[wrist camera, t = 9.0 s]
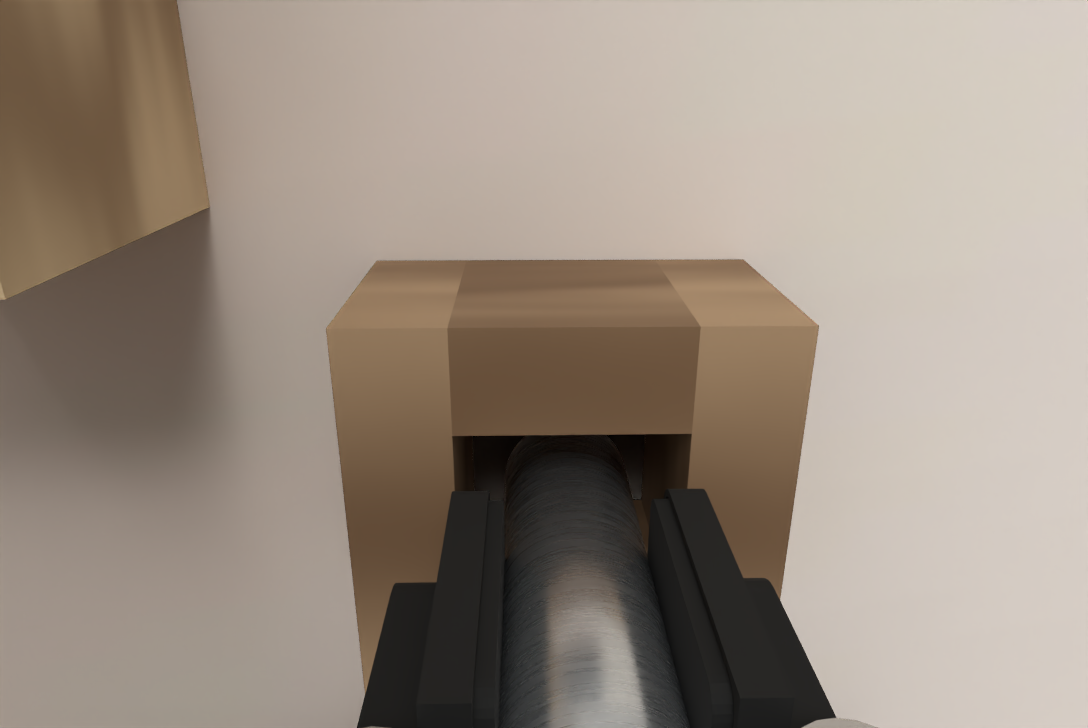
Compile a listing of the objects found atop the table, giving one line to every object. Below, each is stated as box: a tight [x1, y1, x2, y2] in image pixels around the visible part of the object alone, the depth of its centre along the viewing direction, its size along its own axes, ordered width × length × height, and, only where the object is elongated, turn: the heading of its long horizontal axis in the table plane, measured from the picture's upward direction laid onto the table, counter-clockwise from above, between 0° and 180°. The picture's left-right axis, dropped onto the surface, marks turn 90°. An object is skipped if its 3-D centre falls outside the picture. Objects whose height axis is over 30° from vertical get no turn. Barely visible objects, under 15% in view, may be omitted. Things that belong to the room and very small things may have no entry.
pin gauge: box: [499, 435, 690, 728], centre depth 9 cm, size 2×2×10 cm
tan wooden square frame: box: [326, 260, 819, 694], centre depth 14 cm, size 7×7×4 cm
